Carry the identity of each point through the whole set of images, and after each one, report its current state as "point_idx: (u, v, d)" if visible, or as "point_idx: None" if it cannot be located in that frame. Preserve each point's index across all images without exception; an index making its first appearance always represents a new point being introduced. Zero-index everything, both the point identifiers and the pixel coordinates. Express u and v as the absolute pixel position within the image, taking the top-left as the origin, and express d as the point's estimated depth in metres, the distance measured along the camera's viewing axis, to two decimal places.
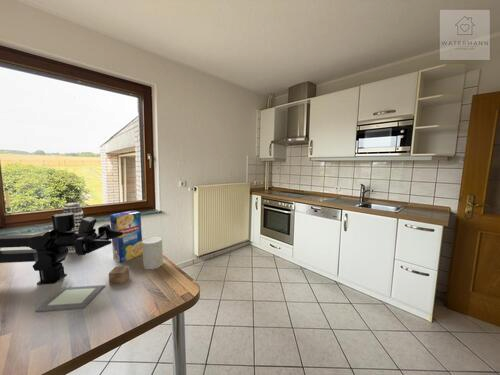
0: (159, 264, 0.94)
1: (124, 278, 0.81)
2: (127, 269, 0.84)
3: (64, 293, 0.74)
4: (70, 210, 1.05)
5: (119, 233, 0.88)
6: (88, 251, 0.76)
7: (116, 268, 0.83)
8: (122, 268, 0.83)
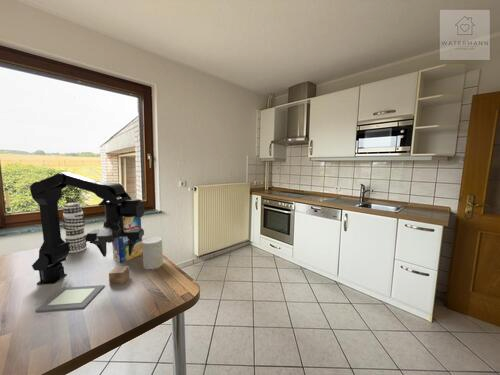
0: (159, 264, 0.94)
1: (124, 278, 0.81)
2: (127, 269, 0.84)
3: (64, 293, 0.74)
4: (70, 210, 1.05)
5: None
6: None
7: (116, 268, 0.83)
8: (122, 268, 0.83)
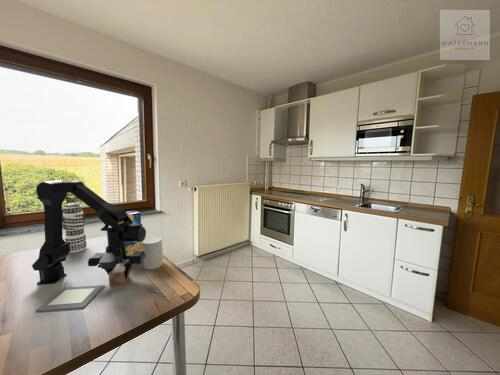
0: (159, 264, 0.94)
1: (124, 278, 0.81)
2: None
3: (64, 293, 0.74)
4: (70, 210, 1.05)
5: None
6: None
7: (116, 268, 0.83)
8: (121, 267, 0.83)
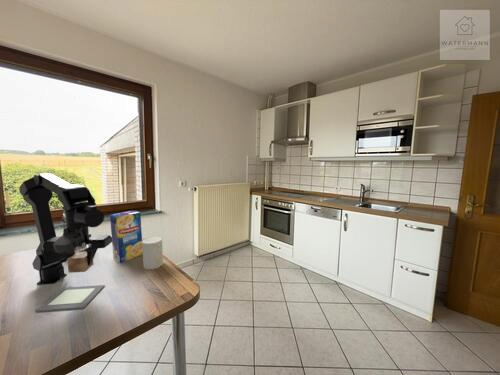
0: (159, 264, 0.94)
1: (86, 264, 0.72)
2: None
3: (64, 293, 0.74)
4: None
5: None
6: None
7: (77, 253, 0.74)
8: (84, 253, 0.74)
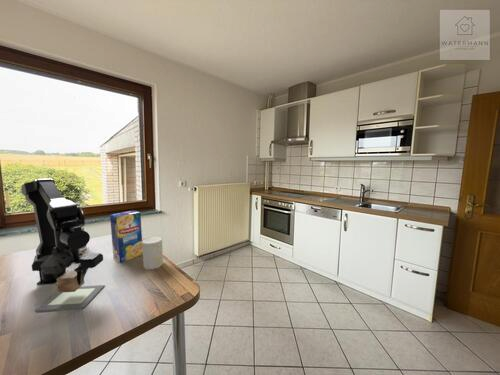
0: (159, 264, 0.94)
1: (76, 284, 0.71)
2: None
3: (64, 293, 0.74)
4: None
5: None
6: None
7: (68, 272, 0.72)
8: (74, 272, 0.72)
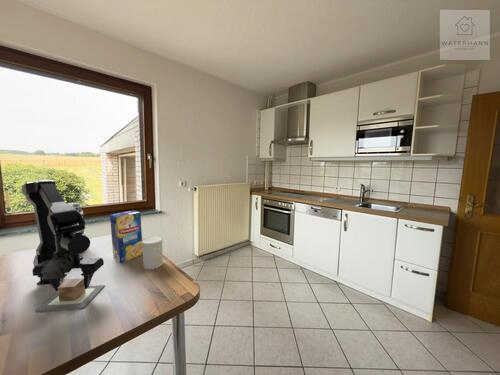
0: (159, 264, 0.94)
1: (77, 293, 0.71)
2: (82, 282, 0.74)
3: None
4: None
5: None
6: None
7: (69, 281, 0.72)
8: (75, 280, 0.73)
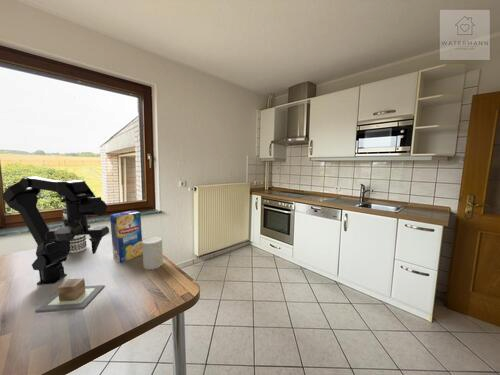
0: (159, 264, 0.94)
1: (77, 293, 0.71)
2: (82, 282, 0.74)
3: None
4: None
5: None
6: None
7: (69, 281, 0.72)
8: (75, 280, 0.73)
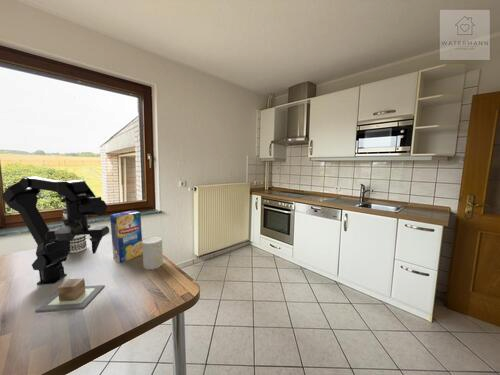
0: (159, 264, 0.94)
1: (77, 293, 0.71)
2: (82, 282, 0.74)
3: None
4: None
5: None
6: None
7: (69, 281, 0.72)
8: (75, 280, 0.73)
